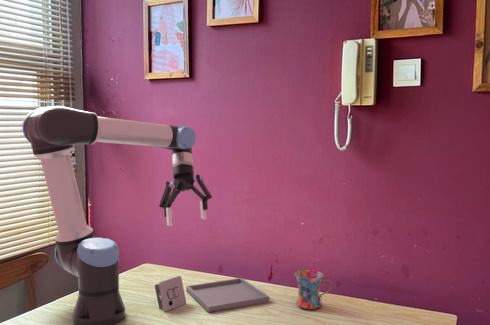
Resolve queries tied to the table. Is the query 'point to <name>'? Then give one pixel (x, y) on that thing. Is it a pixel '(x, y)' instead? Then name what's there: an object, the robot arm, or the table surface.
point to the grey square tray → (226, 295)
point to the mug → (309, 288)
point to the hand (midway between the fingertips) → (186, 222)
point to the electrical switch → (170, 293)
